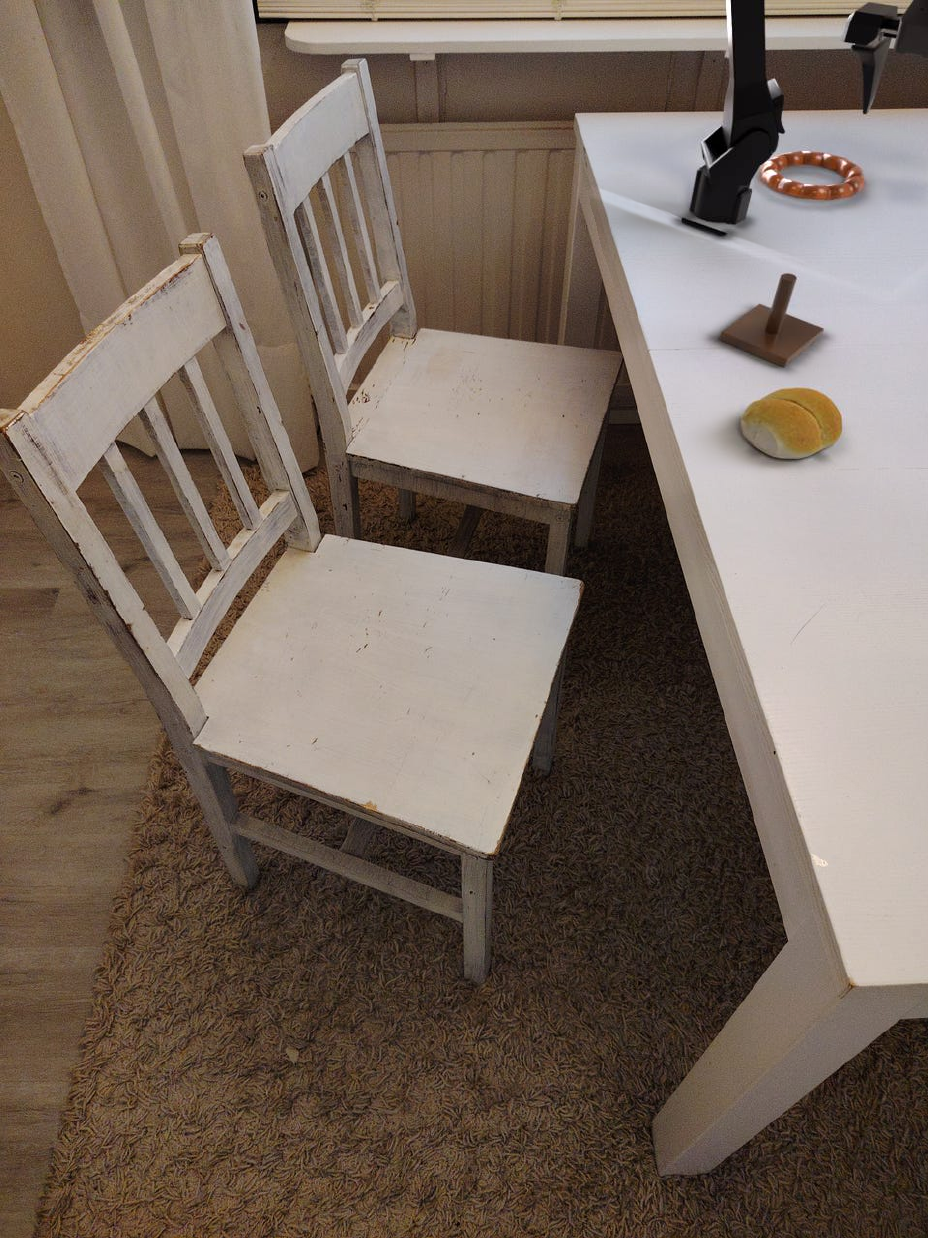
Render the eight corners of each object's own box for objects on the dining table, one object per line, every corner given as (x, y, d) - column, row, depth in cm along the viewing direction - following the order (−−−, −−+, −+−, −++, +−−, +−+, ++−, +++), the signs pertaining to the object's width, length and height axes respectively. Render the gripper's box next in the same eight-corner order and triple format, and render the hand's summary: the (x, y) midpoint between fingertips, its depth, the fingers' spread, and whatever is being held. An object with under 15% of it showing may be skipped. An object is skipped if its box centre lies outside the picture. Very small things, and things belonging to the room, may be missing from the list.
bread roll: (852, 438, 76) (868, 403, 73) (787, 473, 73) (801, 438, 70) (787, 396, 80) (799, 361, 77) (723, 427, 77) (733, 392, 74)
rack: (718, 339, 87) (734, 278, 82) (757, 311, 91) (774, 250, 86) (784, 367, 84) (804, 305, 78) (821, 336, 87) (843, 275, 82)
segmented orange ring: (739, 188, 112) (743, 170, 110) (789, 158, 118) (794, 140, 116) (830, 217, 105) (836, 198, 103) (878, 184, 111) (885, 166, 110)
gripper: (849, -42, 82) (802, 125, 94) (1043, -17, 75) (965, 161, 87) (885, -63, 88) (836, 98, 100) (1069, -41, 81) (993, 129, 93)
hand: (903, 121), depth 95 cm, fingers open, 9 cm apart
